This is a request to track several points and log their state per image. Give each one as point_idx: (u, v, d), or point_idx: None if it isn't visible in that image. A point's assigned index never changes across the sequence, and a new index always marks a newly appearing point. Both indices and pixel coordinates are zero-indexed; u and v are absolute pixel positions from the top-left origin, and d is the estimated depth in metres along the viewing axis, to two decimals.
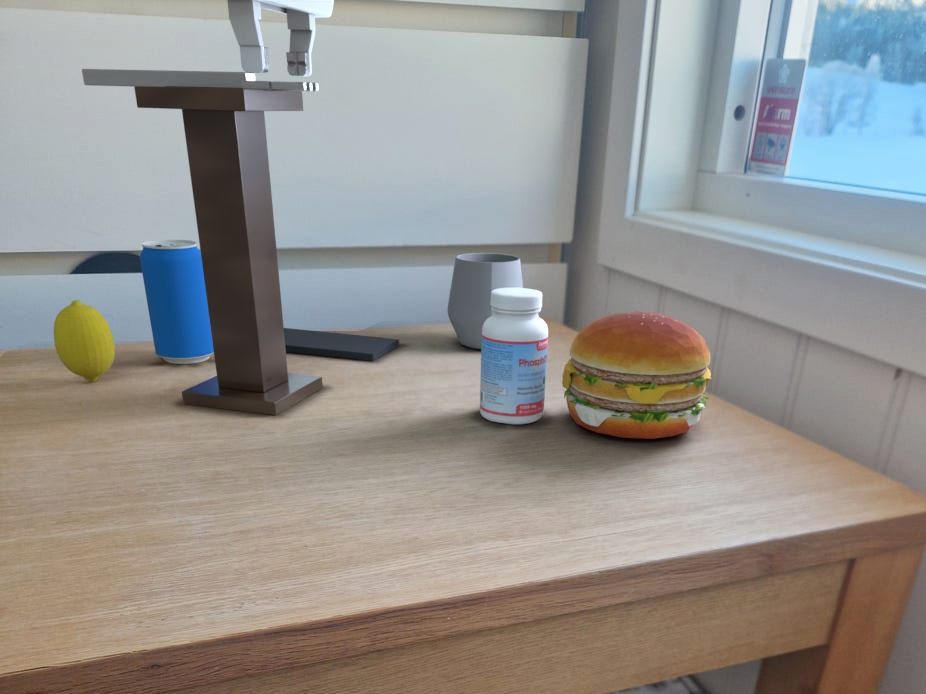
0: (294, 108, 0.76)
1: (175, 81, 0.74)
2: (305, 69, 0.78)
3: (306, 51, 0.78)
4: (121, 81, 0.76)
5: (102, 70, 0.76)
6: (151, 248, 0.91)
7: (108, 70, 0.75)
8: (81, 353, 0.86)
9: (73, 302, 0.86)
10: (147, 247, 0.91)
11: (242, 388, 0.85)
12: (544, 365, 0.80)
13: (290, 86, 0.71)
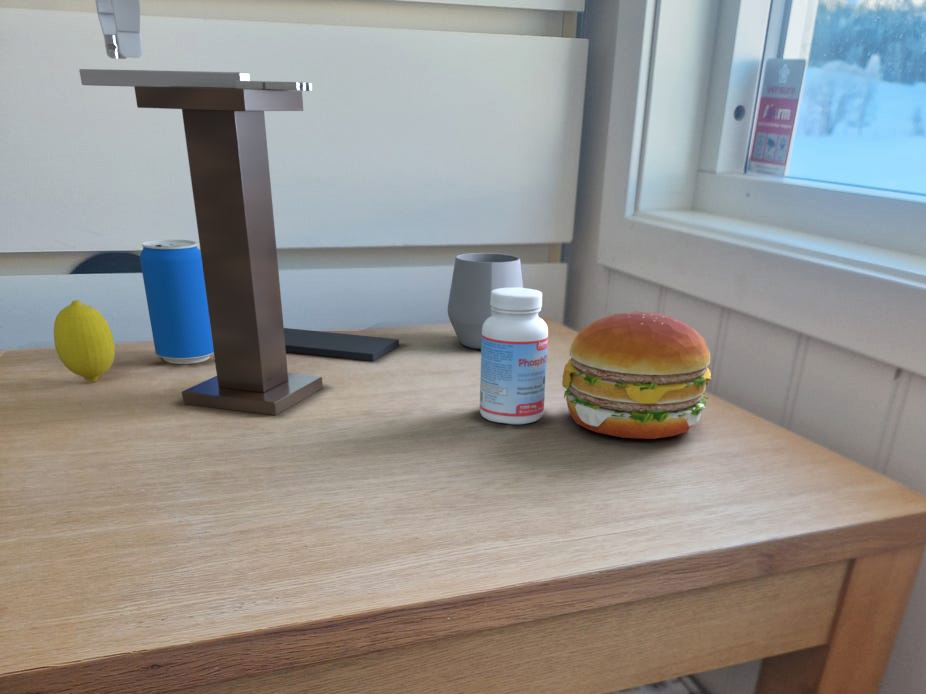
0: (294, 108, 0.76)
1: (171, 81, 0.75)
2: None
3: None
4: (118, 81, 0.76)
5: (99, 70, 0.77)
6: (151, 248, 0.91)
7: (105, 70, 0.76)
8: (81, 353, 0.86)
9: (73, 302, 0.86)
10: (147, 247, 0.91)
11: (242, 388, 0.85)
12: (544, 365, 0.80)
13: (283, 86, 0.72)
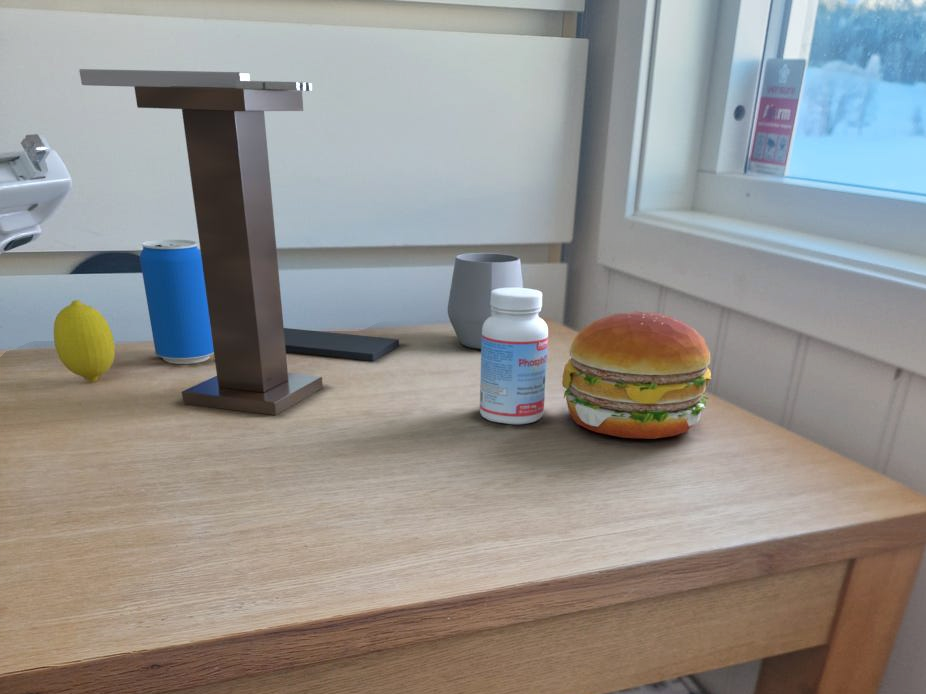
0: (294, 108, 0.76)
1: (171, 81, 0.75)
2: None
3: None
4: (118, 81, 0.76)
5: (99, 70, 0.77)
6: (151, 248, 0.91)
7: (105, 70, 0.76)
8: (81, 353, 0.86)
9: (73, 302, 0.86)
10: (147, 247, 0.91)
11: (242, 388, 0.85)
12: (544, 365, 0.80)
13: (283, 86, 0.72)
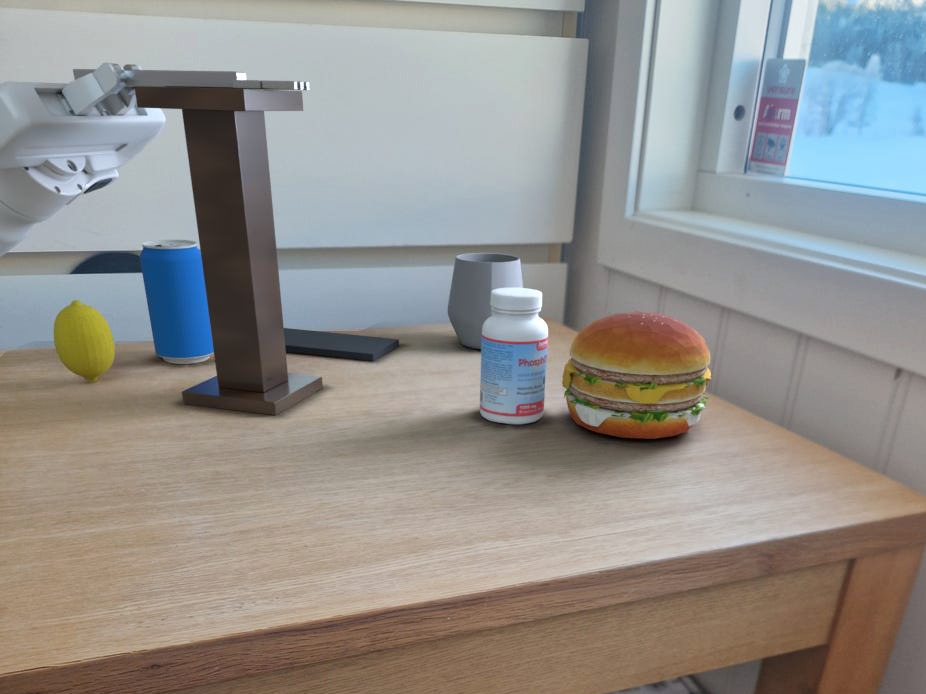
0: (294, 108, 0.76)
1: (166, 81, 0.74)
2: (124, 85, 0.76)
3: None
4: None
5: (93, 70, 0.76)
6: (151, 248, 0.91)
7: None
8: (81, 353, 0.86)
9: (73, 302, 0.86)
10: (147, 247, 0.91)
11: (242, 388, 0.85)
12: (544, 365, 0.80)
13: (281, 85, 0.71)
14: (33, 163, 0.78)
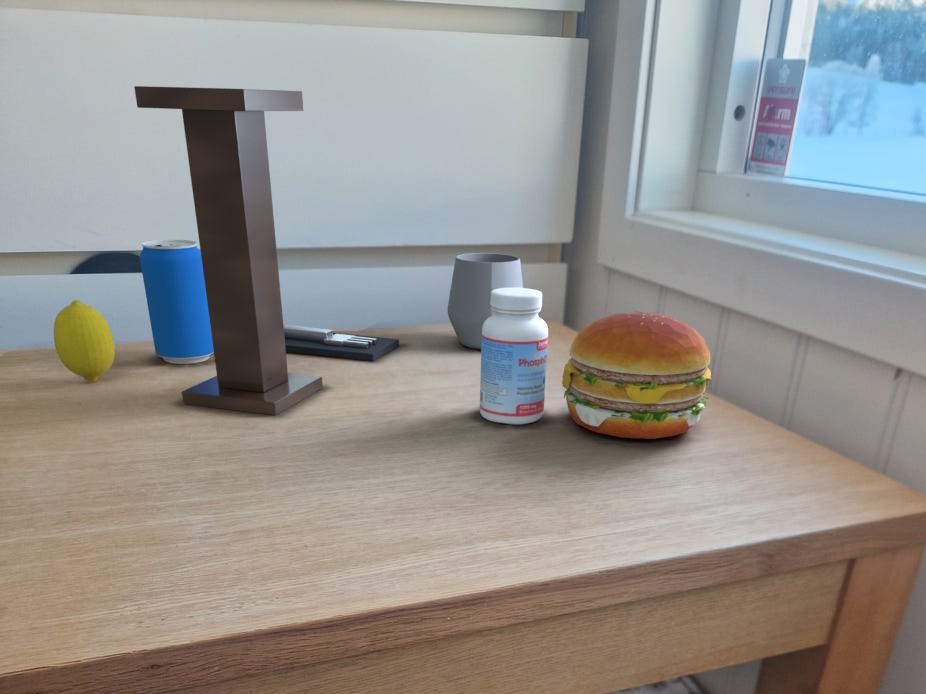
0: (294, 108, 0.76)
1: None
2: None
3: None
4: None
5: None
6: (151, 248, 0.91)
7: None
8: (81, 353, 0.86)
9: (73, 302, 0.86)
10: (147, 247, 0.91)
11: (242, 388, 0.85)
12: (544, 365, 0.80)
13: (357, 345, 1.02)
14: None
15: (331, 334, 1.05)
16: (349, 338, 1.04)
